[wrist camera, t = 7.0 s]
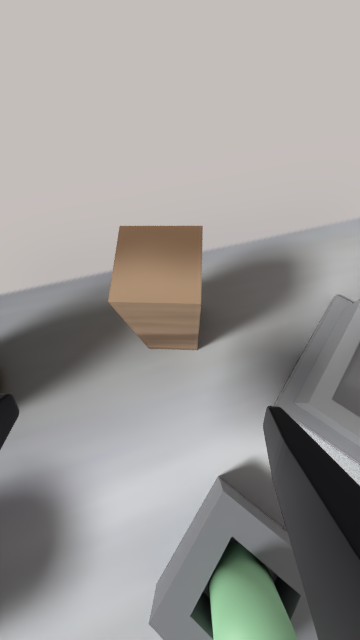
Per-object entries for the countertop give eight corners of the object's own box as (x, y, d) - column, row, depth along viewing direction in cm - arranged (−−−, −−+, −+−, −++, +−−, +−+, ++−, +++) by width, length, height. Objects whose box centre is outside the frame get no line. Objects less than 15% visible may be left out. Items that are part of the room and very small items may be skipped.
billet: (197, 350, 21) (201, 303, 11) (148, 348, 22) (107, 302, 11) (198, 304, 23) (202, 225, 12) (152, 303, 23) (119, 226, 13)
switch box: (259, 686, 14) (275, 758, 11) (156, 584, 16) (148, 623, 13) (315, 554, 16) (341, 588, 13) (218, 476, 18) (223, 490, 15)
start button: (250, 639, 14) (275, 746, 10) (196, 588, 15) (198, 664, 11) (281, 572, 15) (317, 642, 11) (228, 527, 16) (242, 575, 12)
